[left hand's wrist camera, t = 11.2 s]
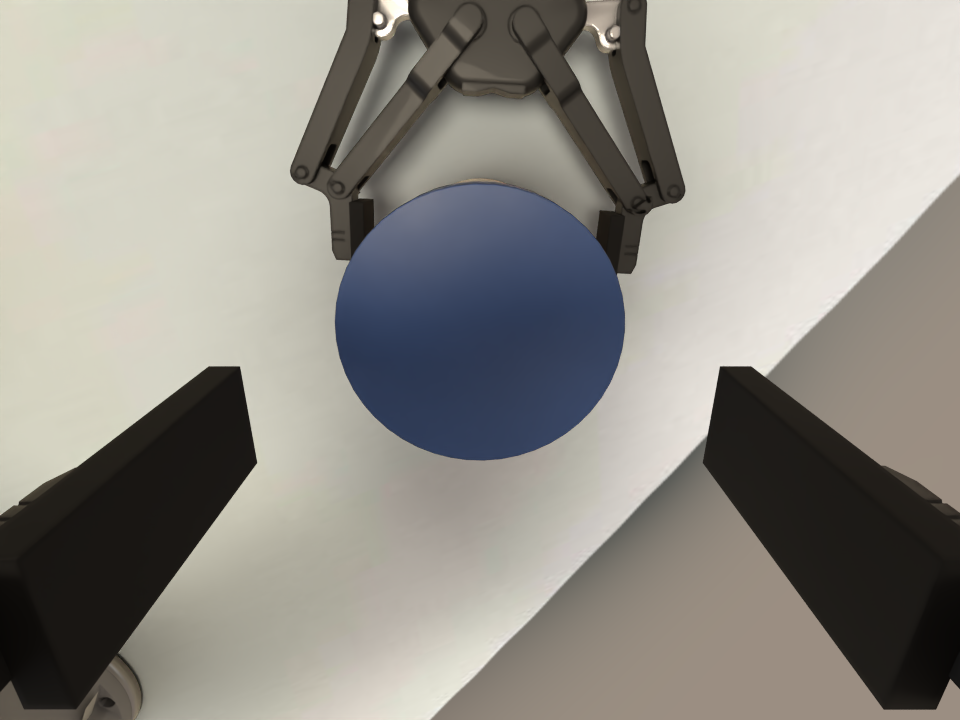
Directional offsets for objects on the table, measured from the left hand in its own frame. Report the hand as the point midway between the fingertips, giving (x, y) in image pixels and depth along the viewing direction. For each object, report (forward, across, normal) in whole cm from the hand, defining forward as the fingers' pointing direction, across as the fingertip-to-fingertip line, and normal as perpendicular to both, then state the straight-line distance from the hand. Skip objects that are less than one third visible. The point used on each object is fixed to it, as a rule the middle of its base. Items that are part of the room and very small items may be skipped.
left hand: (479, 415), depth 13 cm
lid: (+7, 0, 0) cm, 7 cm away
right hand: (+18, 0, -3) cm, 18 cm away
